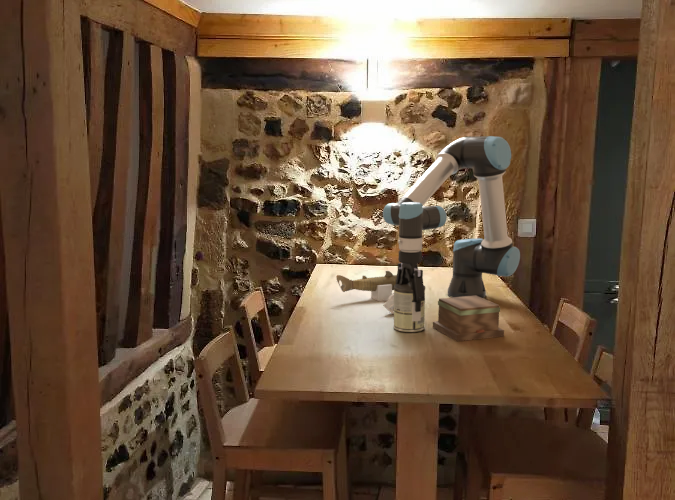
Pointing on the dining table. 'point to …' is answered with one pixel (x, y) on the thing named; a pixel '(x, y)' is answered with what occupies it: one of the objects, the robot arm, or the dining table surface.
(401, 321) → the coffee can
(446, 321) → the stand
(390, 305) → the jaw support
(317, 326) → the dining table surface
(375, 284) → the wood carving
